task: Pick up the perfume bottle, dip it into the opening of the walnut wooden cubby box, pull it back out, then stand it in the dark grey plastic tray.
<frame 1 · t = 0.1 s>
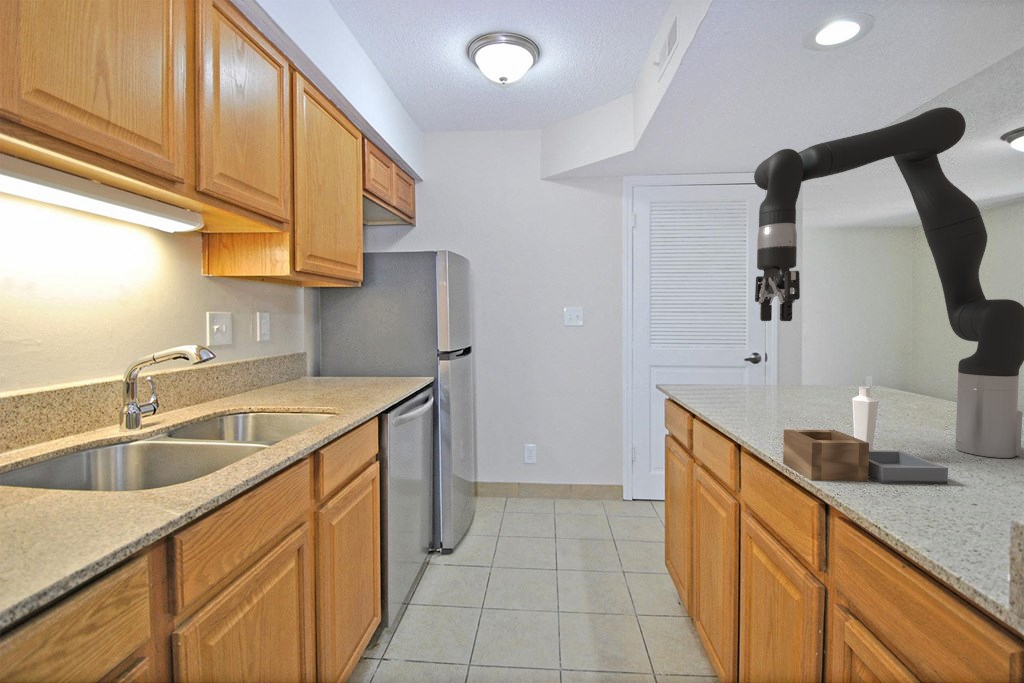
hand: (775, 321, 103), 29 cm above the countertop, fingers open, 8 cm apart
tray: (891, 473, 89), on the countertop
wooden cubby box: (823, 471, 90), on the countertop
perfume bottle: (862, 457, 100), on the countertop
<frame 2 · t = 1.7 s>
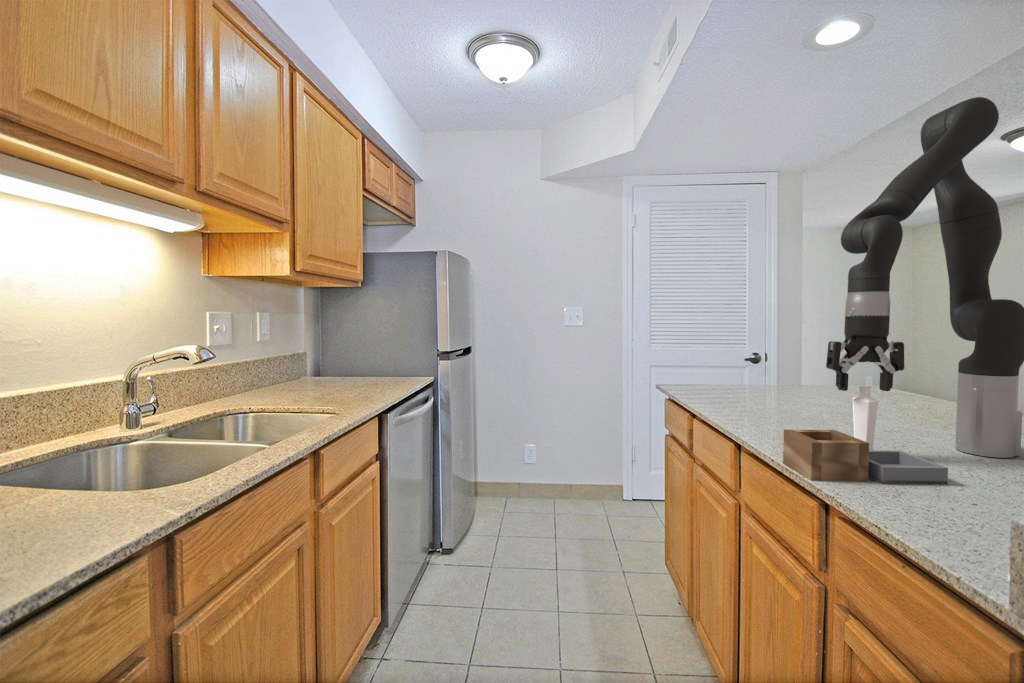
hand: (863, 390, 99), 14 cm above the countertop, fingers open, 8 cm apart
nothing on the countertop moved.
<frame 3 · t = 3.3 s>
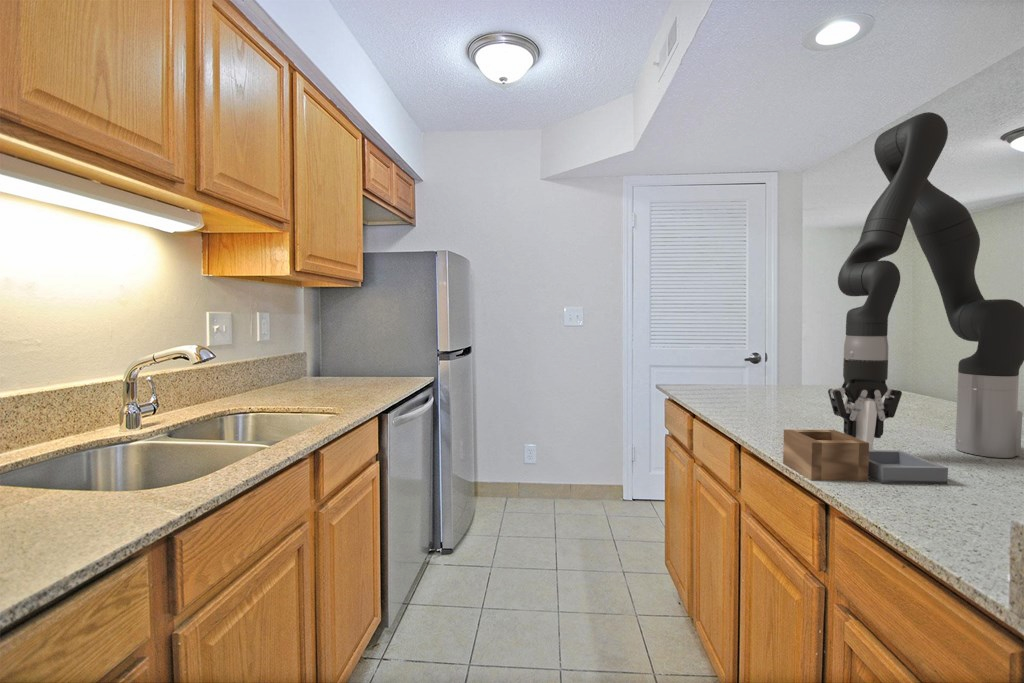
hand: (862, 436, 99), 4 cm above the countertop, fingers closed on perfume bottle, 4 cm apart
perfume bottle: (862, 457, 100), on the countertop, touching gripper
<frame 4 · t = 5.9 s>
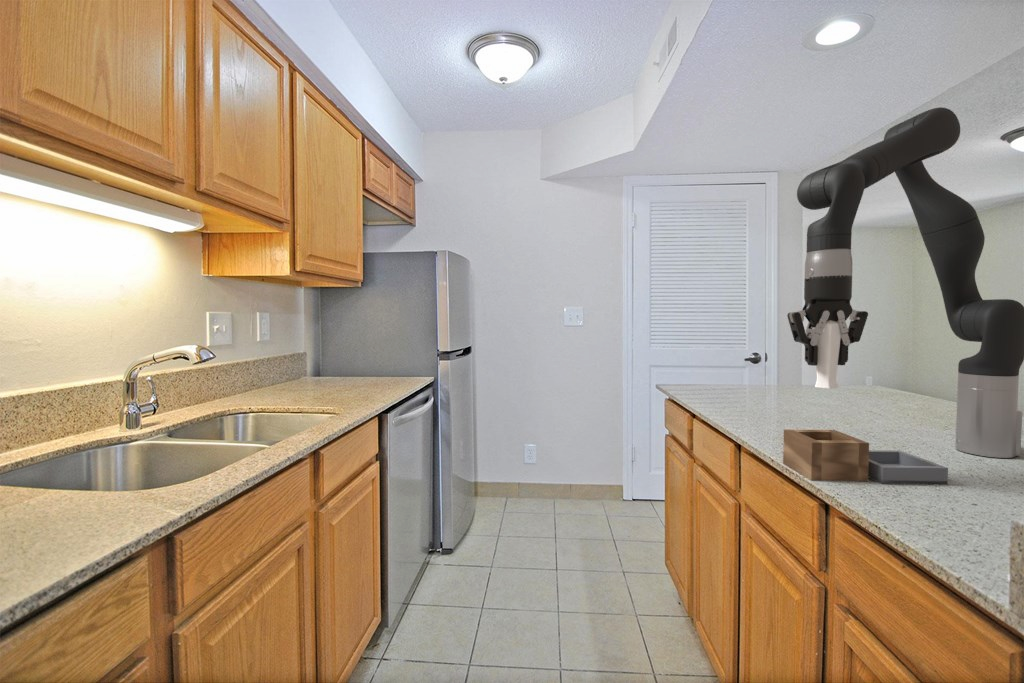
hand: (825, 364, 89), 21 cm above the countertop, fingers closed on perfume bottle, 4 cm apart
perfume bottle: (825, 388, 90), point 16 cm above the countertop, touching gripper
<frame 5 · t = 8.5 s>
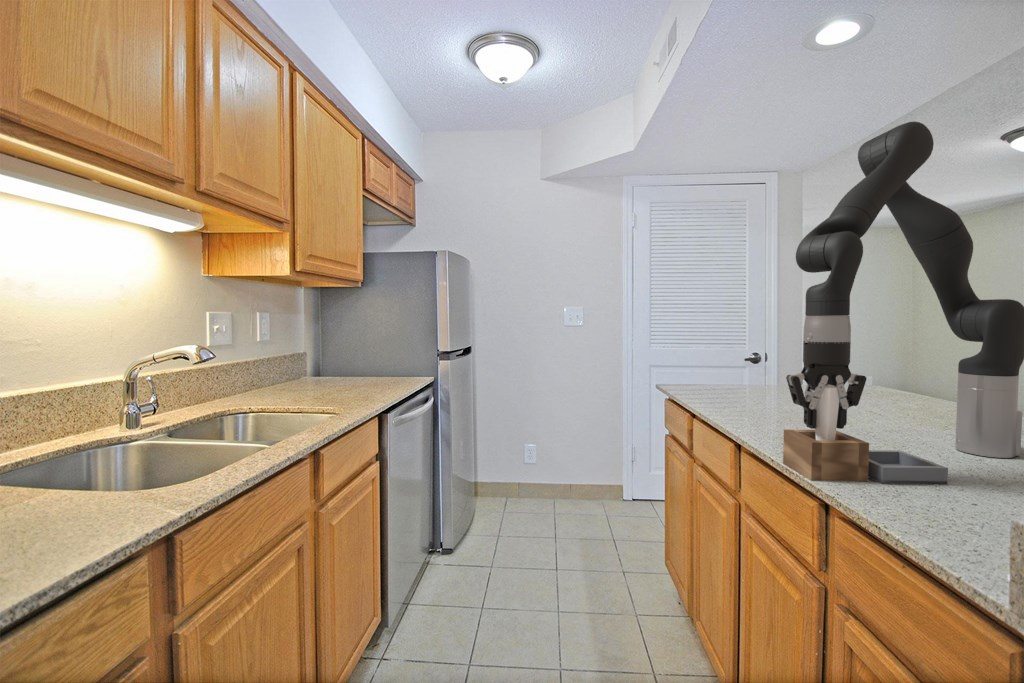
hand: (824, 427, 90), 9 cm above the countertop, fingers closed on perfume bottle, 4 cm apart
perfume bottle: (824, 450, 90), point 4 cm above the countertop, touching gripper
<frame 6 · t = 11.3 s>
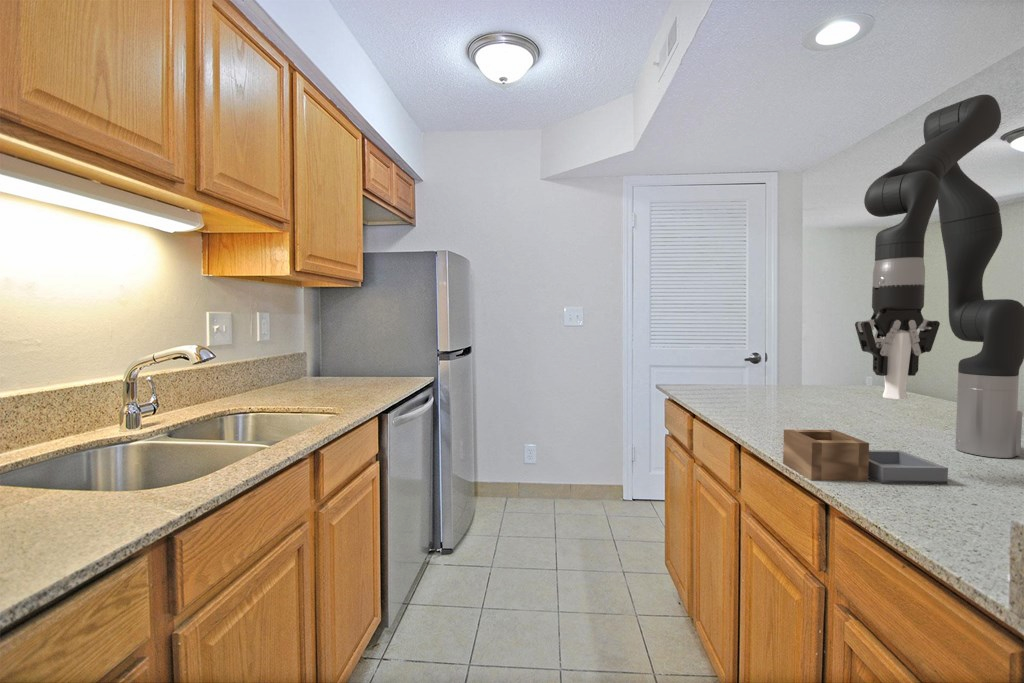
hand: (894, 374, 88), 19 cm above the countertop, fingers closed on perfume bottle, 4 cm apart
perfume bottle: (894, 398, 88), point 14 cm above the countertop, touching gripper
when the fingers open (6 cm above the countertop, at t = 13.9 s): perfume bottle stays where it is, resting on tray.
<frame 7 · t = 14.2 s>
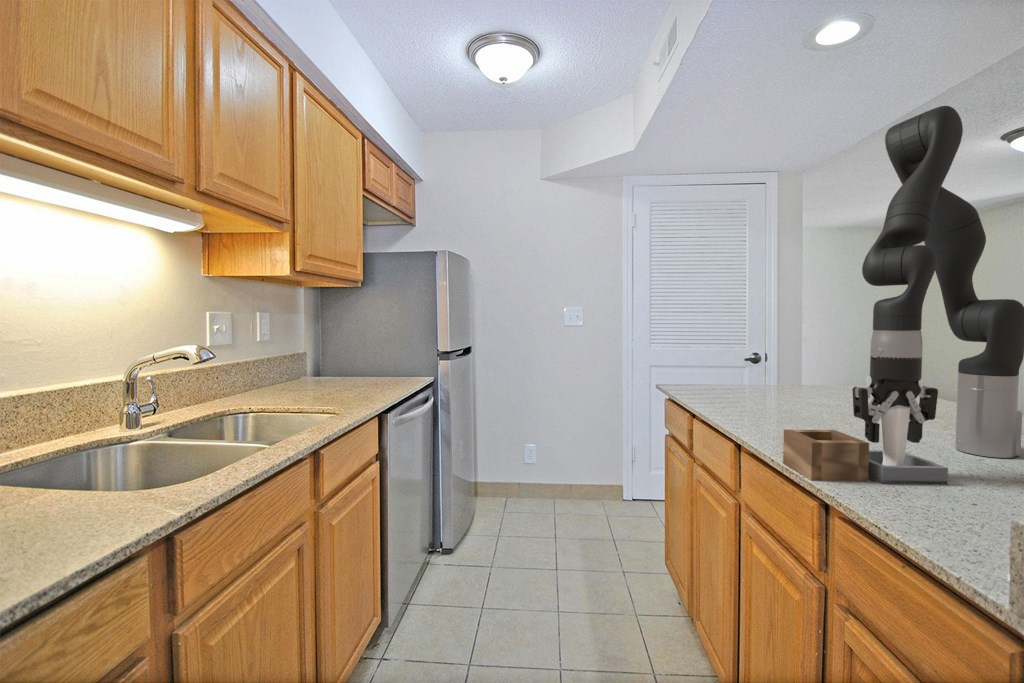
hand: (892, 441, 88), 6 cm above the countertop, fingers open, 6 cm apart
perfume bottle: (893, 471, 89), resting on tray
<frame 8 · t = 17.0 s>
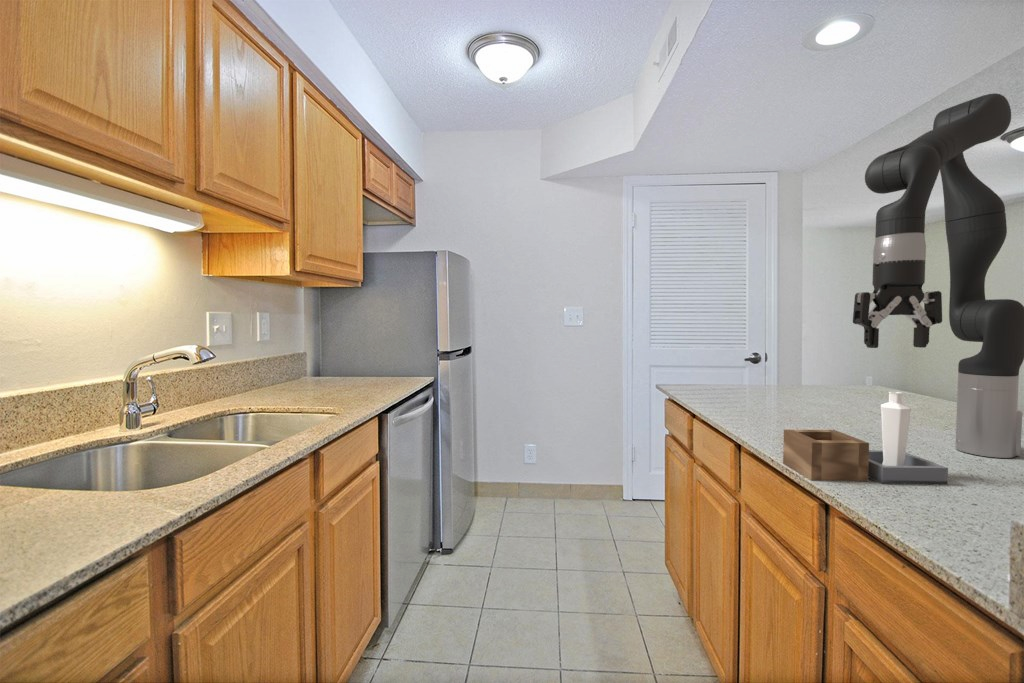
hand: (895, 347, 88), 24 cm above the countertop, fingers open, 8 cm apart
nothing on the countertop moved.
at the end: perfume bottle inside the target area on the tray (0.2 cm from its centre), point 0.4 cm above the tray's base; perfume bottle tilted 0°; the gripper is holding nothing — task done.
